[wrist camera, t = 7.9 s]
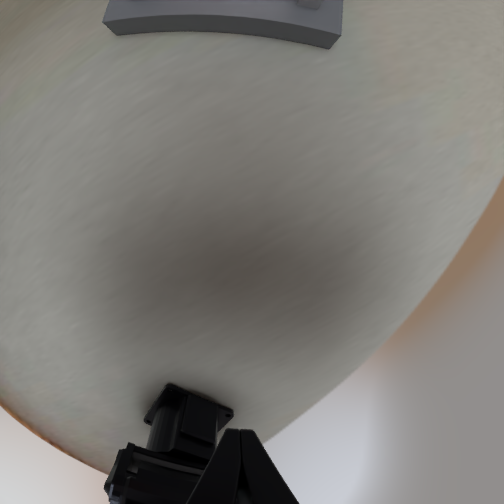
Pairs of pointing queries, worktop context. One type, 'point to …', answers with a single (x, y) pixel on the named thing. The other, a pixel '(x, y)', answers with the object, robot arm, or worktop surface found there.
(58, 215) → the worktop surface
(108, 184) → the worktop surface
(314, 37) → the grey holder stand
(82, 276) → the worktop surface
